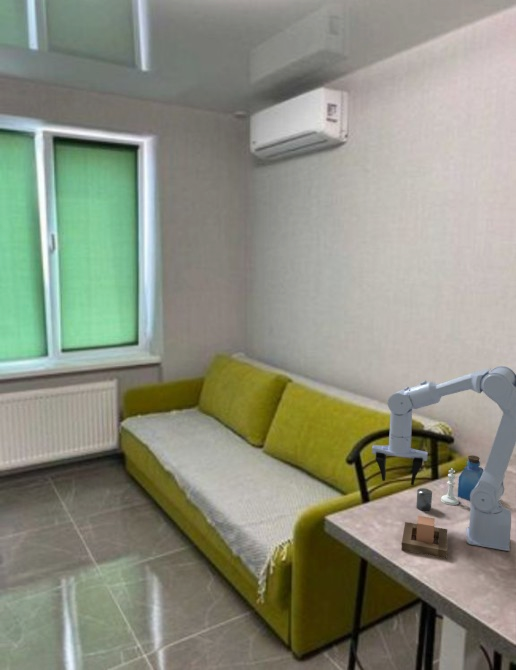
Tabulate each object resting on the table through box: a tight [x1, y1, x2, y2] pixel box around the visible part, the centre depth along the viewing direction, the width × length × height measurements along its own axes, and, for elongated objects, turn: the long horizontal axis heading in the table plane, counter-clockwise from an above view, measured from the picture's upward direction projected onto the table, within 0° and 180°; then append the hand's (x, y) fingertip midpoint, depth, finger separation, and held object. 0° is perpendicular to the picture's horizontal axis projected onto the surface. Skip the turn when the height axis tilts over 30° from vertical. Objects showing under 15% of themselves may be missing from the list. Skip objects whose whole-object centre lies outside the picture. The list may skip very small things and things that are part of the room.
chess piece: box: [440, 467, 460, 506], centre depth 151 cm, size 5×5×10 cm
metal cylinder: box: [415, 487, 433, 512], centre depth 147 cm, size 4×4×5 cm
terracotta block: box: [415, 515, 435, 544], centre depth 129 cm, size 4×4×6 cm
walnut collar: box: [400, 521, 448, 559], centre depth 129 cm, size 10×10×2 cm
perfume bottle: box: [457, 455, 484, 501], centre depth 154 cm, size 6×6×12 cm
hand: (398, 481), depth 143 cm, fingers open, 7 cm apart
